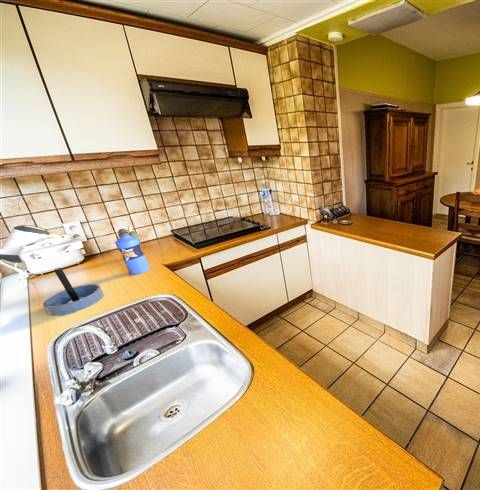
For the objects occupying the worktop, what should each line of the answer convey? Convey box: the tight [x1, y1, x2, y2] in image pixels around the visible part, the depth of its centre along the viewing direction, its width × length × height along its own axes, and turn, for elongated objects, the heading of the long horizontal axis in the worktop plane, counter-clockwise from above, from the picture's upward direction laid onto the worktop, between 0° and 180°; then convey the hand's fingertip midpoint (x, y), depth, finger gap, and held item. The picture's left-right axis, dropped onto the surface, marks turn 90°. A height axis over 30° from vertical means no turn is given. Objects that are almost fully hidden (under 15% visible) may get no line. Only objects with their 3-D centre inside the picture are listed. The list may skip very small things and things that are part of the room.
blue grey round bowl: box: [42, 283, 105, 317], centre depth 118 cm, size 18×18×6 cm
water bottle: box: [114, 228, 151, 276], centre depth 144 cm, size 9×9×25 cm
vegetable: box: [127, 225, 143, 251], centre depth 165 cm, size 4×4×20 cm
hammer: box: [53, 267, 84, 303], centre depth 115 cm, size 6×6×18 cm
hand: (53, 253), depth 123 cm, fingers open, 8 cm apart
